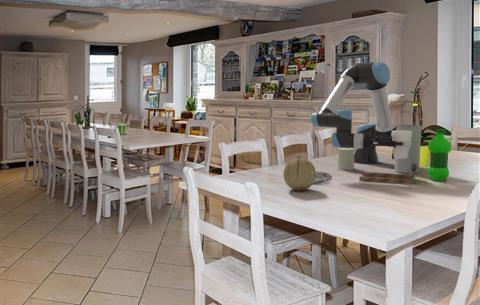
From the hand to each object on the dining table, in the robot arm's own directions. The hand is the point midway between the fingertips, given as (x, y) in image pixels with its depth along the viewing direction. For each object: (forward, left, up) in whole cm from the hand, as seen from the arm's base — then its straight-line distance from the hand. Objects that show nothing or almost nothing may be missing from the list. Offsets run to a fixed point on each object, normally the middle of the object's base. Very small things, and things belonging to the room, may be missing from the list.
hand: (410, 142), depth 218 cm
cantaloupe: (-35, -47, -19) cm, 62 cm away
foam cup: (-4, -1, -8) cm, 9 cm away
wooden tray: (-10, -2, -19) cm, 21 cm away
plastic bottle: (+10, +12, -19) cm, 25 cm away
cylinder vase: (-9, +25, -19) cm, 32 cm away
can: (-40, +15, -19) cm, 46 cm away
